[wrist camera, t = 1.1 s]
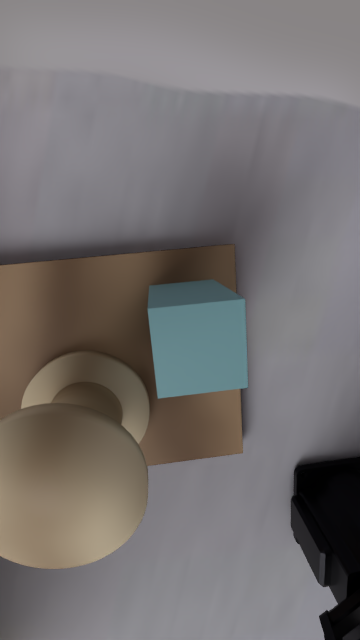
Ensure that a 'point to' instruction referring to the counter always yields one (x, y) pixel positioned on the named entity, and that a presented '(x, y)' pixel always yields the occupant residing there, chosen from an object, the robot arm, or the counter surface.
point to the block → (197, 338)
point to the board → (115, 337)
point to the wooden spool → (73, 463)
